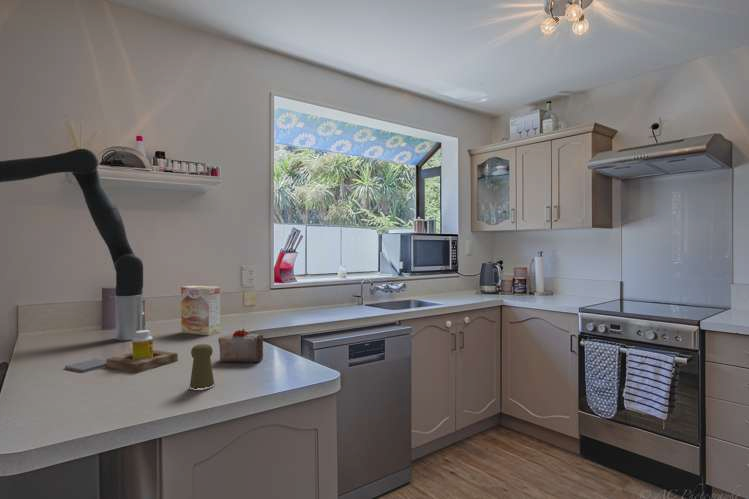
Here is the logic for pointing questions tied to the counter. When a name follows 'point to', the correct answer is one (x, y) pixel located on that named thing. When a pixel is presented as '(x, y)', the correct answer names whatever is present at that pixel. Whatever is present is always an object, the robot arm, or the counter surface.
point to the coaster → (87, 365)
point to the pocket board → (141, 361)
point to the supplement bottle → (142, 345)
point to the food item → (241, 347)
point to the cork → (201, 367)
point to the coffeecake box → (200, 310)
